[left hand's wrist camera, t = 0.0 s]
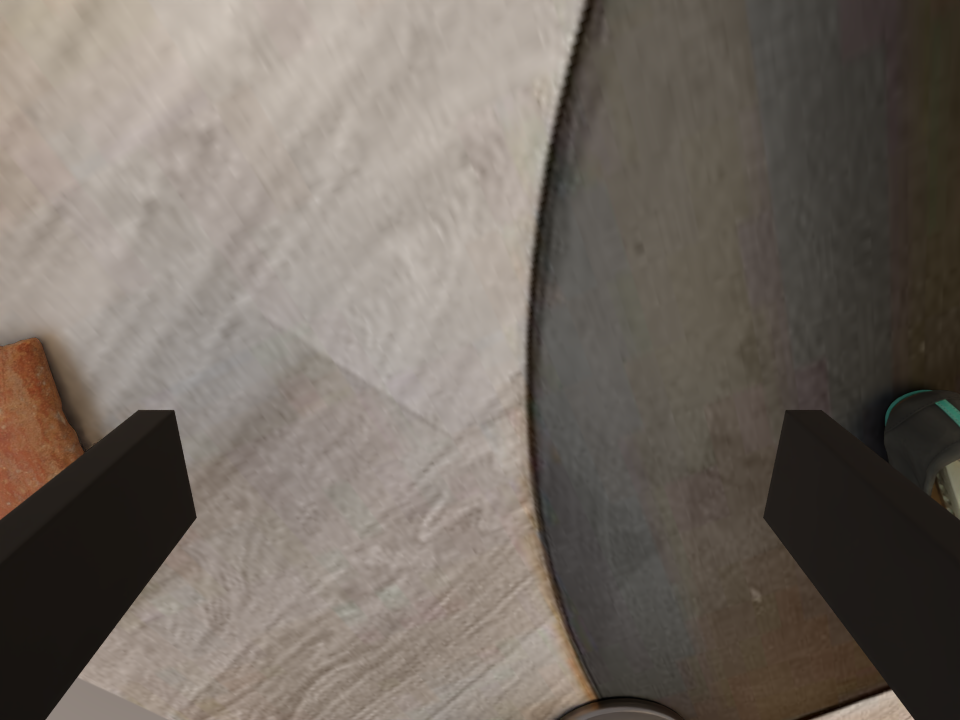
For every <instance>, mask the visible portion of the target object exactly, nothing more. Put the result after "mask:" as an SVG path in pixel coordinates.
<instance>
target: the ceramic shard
mask: <svg viewBox="0 0 960 720" xmlns="http://www.w3.org/2000/svg"><path fill="white" fill-rule="evenodd" d="M83 454H84V451H83V449H82V447H81V445H80V443H79V440H78V437H77V433H76V432H75V430H74V429H73V428H72V427H71V426H70V424H69V423H68V421H67V419H66V417H65V415H64V413H63V411H62V403H61V399H60V396H59V394H58V391H57V388H56V385H55V382H54V380H53V377H52V374H51V371H50V368H49V365H48V362H47V359H46V356H45V353H44V350H43V346H42V344H41V343H40V341H39V340H38V339H37V338H30V339H27V340H21V341H18V342H16V343H14V344H9V345H6V346H0V520H1V519H2V518H3V517H4V516H6V515H7V514H8V513H10V512H11V511H12V510H13V509H15V508H16V507H17V506H18V505H20V504H21V503H22V502H23V501H25V500H26V499H27V498H28V497H30V496H31V495H32V494H33V493H35V492H36V491H37V490H39V489H40V488H41V487H42V486H44V485H45V484H46V483H47V482H49V481H50V480H51V479H52V478H54V477H55V476H56V475H57V474H59V473H60V472H61V471H62V470H64V469H65V468H66V467H68V466H69V465H70V464H71V463H73V462H74V461H75V460H76V459H78V458H79V457H80V456H81V455H83Z"/></svg>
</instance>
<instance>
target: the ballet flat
mask: <svg viewBox="0 0 960 720" xmlns="http://www.w3.org/2000/svg"><path fill="white" fill-rule="evenodd" d="M884 445H885V449H886V451H887V456H888V461H889V464H890V465H891V466H892V467H894V468H895V469H896V470H898V471H899V472H900V473H901V474H903V475H904V476H905V477H906V478H908V479H909V480H910V481H911V482H913V483H914V484H915V485H916V486H918V487H919V488H920V489H921V490H923V491H924V492H925V493H927V494H928V495H929V496H930V497H932V498H933V499H934V500H935V501H937V502H938V503H939V504H940V505H942V506H943V507H944V508H945V509H947V510H948V511H949V512H950V513H952V514H953V515H954V516H956V517H957V518H958V519H959V520H960V394H958V393H956V392H952V391H946V390H933V391H932V390H919V391H914V392H910V393H907V394H905V395H903V396H901V397H899V398H897V399H896V400H895V401H894V402H893V403H892V404H891V405H890V406H889V408H888V410H887V412H886V416H885V431H884Z"/></svg>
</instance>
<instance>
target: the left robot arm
mask: <svg viewBox="0 0 960 720" xmlns="http://www.w3.org/2000/svg"><path fill="white" fill-rule="evenodd" d="M196 518H197V517H196V512H195V507H194V502H193V498H192V493H191V488H190V483H189V479H188V474H187V469H186V464H185V459H184V455H183V450H182V445H181V440H180V435H179V431H178V426H177V421H176V416H175V411H174V410H138V411H137V412H136V413H134V414H133V415H132V416H131V417H129V418H128V419H127V420H125V421H124V422H123V423H122V424H120V425H119V426H118V427H117V428H115V429H114V430H113V431H112V432H110V433H109V434H108V435H107V436H105V437H104V438H103V439H102V440H100V441H99V442H98V443H97V444H95V445H94V446H93V447H91V448H90V449H89V450H88V451H86V452H85V453H84V454H83V455H81V456H80V457H79V458H78V459H76V460H75V461H74V462H73V463H71V464H70V465H69V466H68V467H66V468H65V469H64V470H62V471H61V472H60V473H59V474H57V475H56V476H55V477H54V478H52V479H51V480H50V481H49V482H47V483H46V484H45V485H44V486H42V487H41V488H40V489H39V490H37V491H36V492H35V493H33V494H32V495H31V496H30V497H28V498H27V499H26V500H25V501H23V502H22V503H21V504H20V505H18V506H17V507H16V508H15V509H13V510H12V511H11V512H10V513H8V514H7V515H6V516H4V517H3V518H2V519H1V520H0V720H45V719H46V718H47V717H48V716H49V714H50V713H51V712H52V710H53V709H54V708H55V706H56V705H57V704H58V702H59V701H60V700H61V698H62V697H63V696H64V694H65V693H66V692H67V690H68V689H69V688H70V686H71V685H72V684H73V682H74V681H75V679H76V678H77V677H78V676H79V674H80V673H81V671H82V670H83V669H84V667H85V666H86V665H87V663H88V662H89V661H90V659H91V658H92V657H93V655H94V654H95V653H96V651H97V650H98V649H99V647H100V646H101V645H102V643H103V642H104V641H105V639H106V638H107V637H108V635H109V634H110V633H111V631H112V630H113V629H114V627H115V626H116V625H117V623H118V622H119V621H120V619H121V618H122V617H123V615H124V614H125V613H126V611H127V610H128V609H129V607H130V606H131V605H132V603H133V602H134V601H135V599H136V598H137V597H138V595H139V594H140V593H141V591H142V590H143V589H144V587H145V586H146V585H147V583H148V582H149V581H150V579H151V578H152V577H153V575H154V574H155V573H156V571H157V570H158V569H159V567H160V566H161V565H162V563H163V562H164V561H165V559H166V558H167V557H168V555H169V554H170V553H171V551H172V550H173V549H174V547H175V546H176V545H177V543H178V542H179V541H180V539H181V538H182V537H183V535H184V534H185V533H186V531H187V530H188V529H189V527H190V526H191V525H192V523H193V522H194V521H195V519H196ZM763 518H764V519H765V521H766V522H767V523H768V525H769V526H770V527H771V529H772V530H773V531H774V533H775V534H776V535H777V537H778V538H779V539H780V541H781V542H782V543H783V545H784V546H785V547H786V549H787V550H788V551H789V553H790V554H791V555H792V557H793V558H794V559H795V561H796V562H797V563H798V565H799V566H800V567H801V569H802V570H803V571H804V573H805V574H806V575H807V577H808V578H809V579H810V581H811V582H812V583H813V585H814V586H815V587H816V589H817V590H818V591H819V593H820V594H821V595H822V597H823V598H824V599H825V601H826V602H827V603H828V605H829V606H830V607H831V609H832V610H833V611H834V613H835V614H836V615H837V617H838V618H839V619H840V621H841V622H842V623H843V625H844V626H845V627H846V629H847V630H848V631H849V633H850V634H851V635H852V637H853V638H854V639H855V641H856V642H857V643H858V645H859V646H860V647H861V649H862V650H863V651H864V653H865V654H866V655H867V657H868V658H869V659H870V661H871V662H872V663H873V665H874V666H875V667H876V669H877V670H878V671H879V673H880V674H881V676H882V677H883V678H884V680H885V681H886V682H887V684H888V685H889V686H890V688H891V689H892V690H893V692H894V693H895V694H896V696H897V697H898V698H899V700H900V701H901V702H902V704H903V705H904V706H905V708H906V709H907V710H908V712H909V713H910V714H911V716H912V717H913V718H914V720H960V520H959V519H958V518H957V517H956V516H954V515H953V514H952V513H950V512H949V511H948V510H947V509H945V508H944V507H943V506H942V505H940V504H939V503H938V502H937V501H935V500H934V499H933V498H932V497H930V496H929V495H928V494H927V493H925V492H924V491H923V490H921V489H920V488H919V487H918V486H916V485H915V484H914V483H913V482H911V481H910V480H909V479H908V478H906V477H905V476H904V475H903V474H901V473H900V472H899V471H898V470H896V469H895V468H894V467H892V466H891V465H890V464H889V463H887V462H886V461H885V460H884V459H882V458H881V457H880V456H879V455H877V454H876V453H875V452H874V451H872V450H871V449H870V448H869V447H867V446H866V445H865V444H863V443H862V442H861V441H860V440H858V439H857V438H856V437H855V436H853V435H852V434H851V433H850V432H848V431H847V430H846V429H845V428H843V427H842V426H841V425H840V424H838V423H837V422H836V421H835V420H833V419H832V418H831V417H829V416H828V415H827V414H826V413H824V412H823V411H822V410H786V411H785V416H784V421H783V426H782V431H781V435H780V440H779V445H778V450H777V455H776V459H775V464H774V469H773V474H772V478H771V483H770V488H769V493H768V498H767V502H766V507H765V512H764V517H763ZM560 720H684V719H683V718H682V717H681V716H680V715H678V714H677V713H675V712H674V711H672V710H671V709H669V708H667V707H665V706H662V705H660V704H657V703H654V702H650V701H646V700H640V699H629V698H620V699H608V700H602V701H598V702H594V703H590V704H587V705H584V706H582V707H580V708H577V709H575V710H573V711H571V712H570V713H568V714H567V715H565V716H564V717H562V718H561V719H560Z"/></svg>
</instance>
